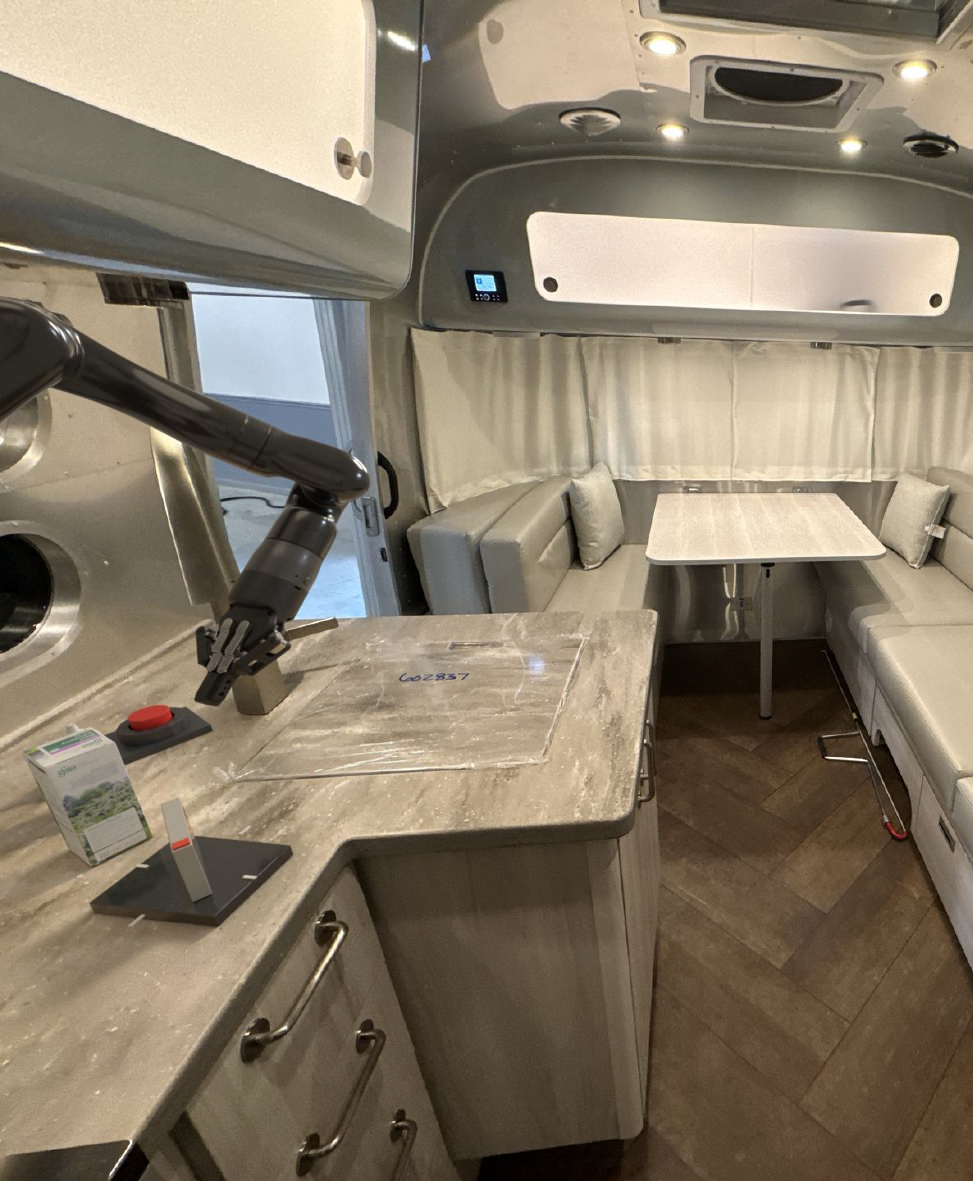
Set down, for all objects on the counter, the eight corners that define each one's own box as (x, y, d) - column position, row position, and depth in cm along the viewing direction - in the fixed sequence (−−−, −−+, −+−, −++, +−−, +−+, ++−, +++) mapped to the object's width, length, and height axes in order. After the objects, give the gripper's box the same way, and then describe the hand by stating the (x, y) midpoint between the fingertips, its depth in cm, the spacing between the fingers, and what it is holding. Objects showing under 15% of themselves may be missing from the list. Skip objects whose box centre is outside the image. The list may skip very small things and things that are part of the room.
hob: (70, 930, 65) (64, 918, 64) (199, 830, 78) (195, 820, 78) (200, 944, 64) (195, 933, 64) (308, 841, 78) (305, 831, 77)
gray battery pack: (179, 851, 73) (159, 801, 70) (198, 844, 74) (178, 795, 72) (192, 902, 67) (171, 850, 64) (212, 893, 68) (191, 842, 65)
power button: (138, 735, 91) (134, 724, 90) (126, 724, 93) (122, 714, 92) (177, 720, 94) (174, 710, 94) (165, 711, 96) (161, 701, 96)
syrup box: (132, 820, 79) (89, 723, 74) (156, 837, 77) (114, 738, 71) (69, 850, 74) (18, 749, 69) (92, 869, 72) (41, 766, 67)
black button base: (124, 765, 88) (117, 748, 87) (101, 743, 92) (93, 726, 91) (213, 731, 96) (207, 714, 95) (187, 712, 100) (181, 696, 99)
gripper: (211, 562, 83) (131, 688, 75) (295, 572, 80) (221, 702, 73) (260, 587, 89) (191, 705, 82) (339, 597, 87) (275, 719, 80)
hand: (205, 704), depth 78 cm, fingers closed
